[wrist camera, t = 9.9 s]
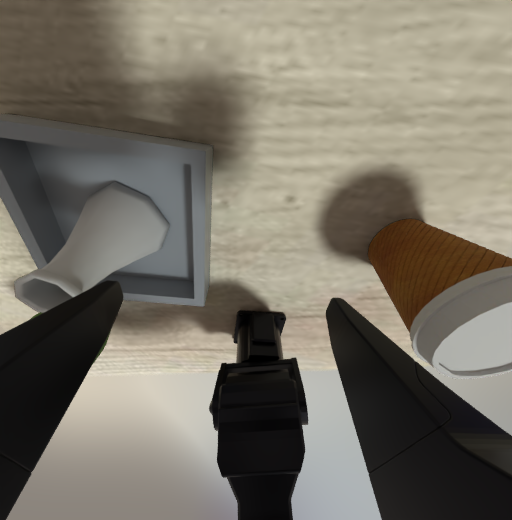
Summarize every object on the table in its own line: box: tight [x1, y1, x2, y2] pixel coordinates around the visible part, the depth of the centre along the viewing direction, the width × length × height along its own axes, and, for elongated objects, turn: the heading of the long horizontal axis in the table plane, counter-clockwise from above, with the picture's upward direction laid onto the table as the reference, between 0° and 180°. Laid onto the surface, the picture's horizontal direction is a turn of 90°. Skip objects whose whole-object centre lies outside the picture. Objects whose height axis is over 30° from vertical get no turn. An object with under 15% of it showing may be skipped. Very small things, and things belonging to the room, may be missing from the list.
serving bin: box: [0, 114, 213, 307], centre depth 19 cm, size 15×15×4 cm
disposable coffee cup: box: [368, 219, 512, 379], centre depth 18 cm, size 10×10×12 cm
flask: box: [14, 182, 170, 313], centre depth 16 cm, size 7×7×10 cm
